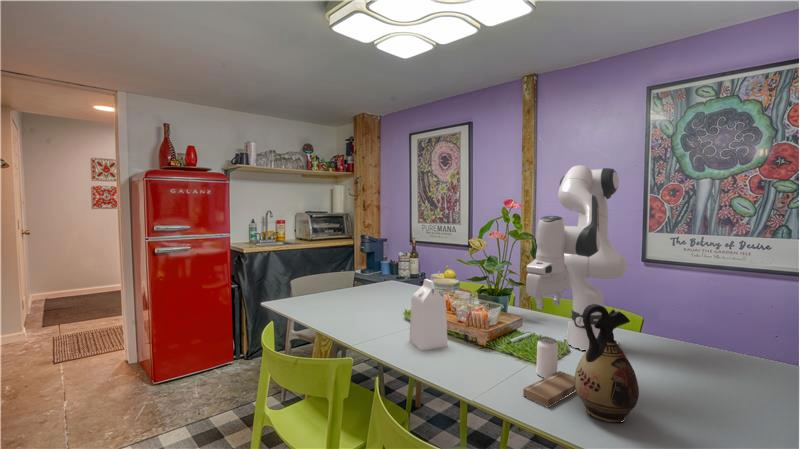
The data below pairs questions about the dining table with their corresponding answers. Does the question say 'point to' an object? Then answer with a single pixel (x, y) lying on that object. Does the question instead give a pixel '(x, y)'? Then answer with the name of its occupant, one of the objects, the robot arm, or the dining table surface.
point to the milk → (428, 318)
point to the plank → (551, 388)
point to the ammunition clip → (475, 326)
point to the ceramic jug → (605, 369)
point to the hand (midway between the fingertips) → (548, 306)
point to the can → (547, 356)
